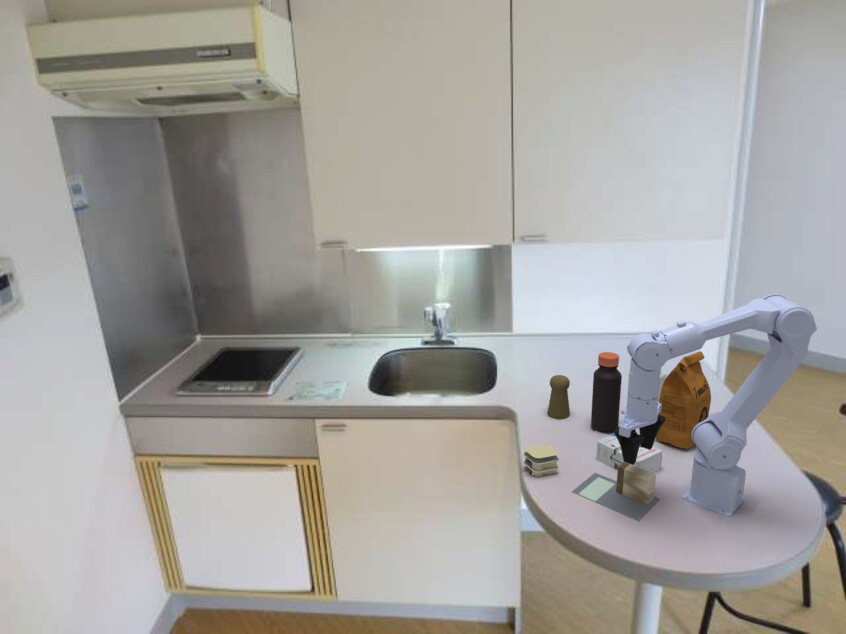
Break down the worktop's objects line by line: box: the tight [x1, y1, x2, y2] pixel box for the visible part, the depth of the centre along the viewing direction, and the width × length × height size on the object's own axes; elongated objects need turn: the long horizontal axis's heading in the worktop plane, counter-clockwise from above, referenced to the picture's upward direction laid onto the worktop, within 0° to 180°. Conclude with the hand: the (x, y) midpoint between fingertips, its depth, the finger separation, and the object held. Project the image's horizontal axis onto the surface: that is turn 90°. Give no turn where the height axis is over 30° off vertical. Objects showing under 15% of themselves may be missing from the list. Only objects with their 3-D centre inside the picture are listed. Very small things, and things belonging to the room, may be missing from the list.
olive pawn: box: [546, 374, 571, 420], centre depth 160 cm, size 6×6×11 cm
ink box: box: [596, 433, 663, 474], centre depth 136 cm, size 9×5×12 cm
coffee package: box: [655, 350, 712, 450], centre depth 143 cm, size 10×12×22 cm
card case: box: [616, 462, 657, 505], centre depth 123 cm, size 7×3×6 cm, turn 45°
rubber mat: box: [571, 472, 661, 522], centre depth 125 cm, size 15×10×1 cm, turn 45°
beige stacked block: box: [523, 444, 560, 477], centre depth 134 cm, size 10×9×6 cm
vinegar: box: [590, 351, 623, 434], centre depth 150 cm, size 7×7×20 cm
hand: (637, 455), depth 121 cm, fingers open, 7 cm apart
